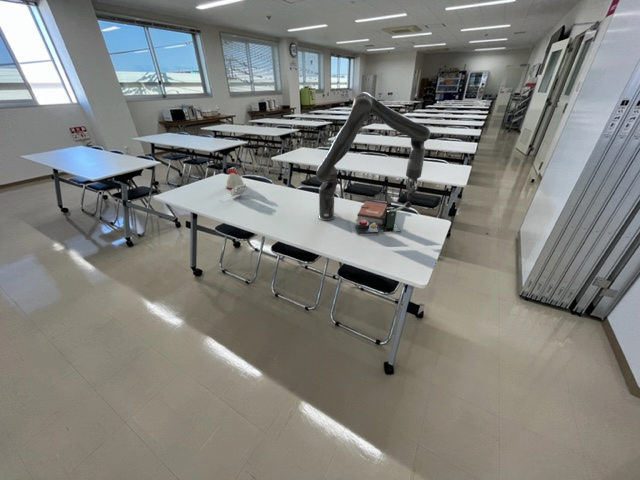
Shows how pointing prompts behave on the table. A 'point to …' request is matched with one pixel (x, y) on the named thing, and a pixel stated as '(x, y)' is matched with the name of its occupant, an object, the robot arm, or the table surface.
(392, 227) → the switch bracket
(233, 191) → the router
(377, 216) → the book
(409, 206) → the switch lever
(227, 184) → the kitchen timer
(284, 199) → the table surface
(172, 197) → the table surface
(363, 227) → the emergency stop panel
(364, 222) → the button
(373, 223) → the lamp lens
